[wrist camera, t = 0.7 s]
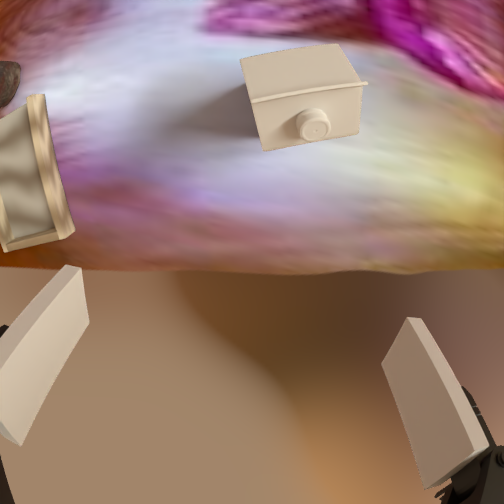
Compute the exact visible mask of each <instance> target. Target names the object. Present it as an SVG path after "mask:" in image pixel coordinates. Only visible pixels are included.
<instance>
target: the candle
mask: <svg viewBox="0 0 504 504" xmlns="http://www.w3.org/2000/svg"><path fill="white" fill-rule="evenodd" d="M20 70H21V68H20V65H19V64H18V63H16V62H11V61H0V107H2V106H5V105H7V104H8V103H9V101H10V100H11V99H12V97H13V96H14V94H15V92H16V89H17V86H18V84H19V82H20Z"/></svg>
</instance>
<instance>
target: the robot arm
mask: <svg viewBox="0 0 504 504" xmlns="http://www.w3.org/2000/svg"><path fill="white" fill-rule="evenodd" d="M88 324H89V317H88V312H87V305H86V300H85V293H84V286H83V278H82V270H81V268H79V267H74V266H70V265H65V266H64V267H63V268H62V269H61V270H60V271H59V272H58V273H57V274H56V275H55V276H54V277H53V278H52V279H51V280H50V281H49V283H48V284H47V285H46V286H45V287H44V288H43V289H42V290H41V291H40V292H39V293H38V294H37V296H36V297H35V298H34V299H33V300H32V301H31V302H30V303H29V304H28V306H27V307H26V308H25V309H24V310H23V311H22V312H21V314H20V315H19V316H18V317H17V318H16V319H15V321H14V322H13V323H12V324H11V325H10V327H9V326H6V325H3V326H1V327H0V433H1V434H2V435H3V436H4V437H5V438H6V439H8V440H10V441H12V442H13V443H15V444H17V445H19V446H22V444H23V442H24V439H25V437H26V435H27V433H28V431H29V429H30V427H31V425H32V423H33V421H34V419H35V417H36V415H37V413H38V411H39V409H40V407H41V405H42V403H43V401H44V400H45V398H46V396H47V394H48V392H49V390H50V388H51V387H52V384H53V383H54V381H55V379H56V378H57V376H58V374H59V372H60V371H61V369H62V367H63V365H64V364H65V362H66V360H67V358H68V357H69V355H70V353H71V352H72V350H73V348H74V347H75V345H76V343H77V342H78V340H79V338H80V337H81V335H82V334H83V332H84V330H85V329H86V327H87V326H88ZM382 367H383V370H384V372H385V374H386V377H387V380H388V382H389V385H390V388H391V390H392V393H393V396H394V399H395V401H396V404H397V407H398V410H399V412H400V415H401V418H402V421H403V424H404V427H405V429H406V432H407V436H408V439H409V442H410V445H411V448H412V451H413V454H414V457H415V460H416V464H417V467H418V470H419V474H420V477H421V480H422V483H423V487H424V490H426V489H429V488H432V487H436V486H439V485H441V484H442V483H444V482H445V481H447V480H448V479H449V478H451V480H452V483H451V484H449V485H448V486H446V487H445V488H443V489H442V490H440V491H439V492H437V494H436V495H435V498H437V497H439V496H440V495H442V494H443V493H445V494H444V496H442V497H441V498H440V500H442V502H441V504H504V446H501V445H500V446H496V444H495V442H494V440H493V438H492V436H491V433H490V431H489V429H488V427H487V425H486V423H485V421H484V419H483V417H482V415H480V411H479V409H478V408H477V407H476V403H475V401H474V399H473V397H472V396H471V394H470V393H469V392H468V391H467V390H466V389H465V388H464V387H463V386H460V384H459V382H458V380H457V379H456V377H455V375H454V373H453V371H452V370H451V368H450V366H449V364H448V363H447V361H446V359H445V358H444V356H443V354H442V352H441V350H440V349H439V347H438V346H437V344H436V342H435V340H434V339H433V337H432V335H431V334H430V332H429V331H428V329H427V328H426V326H425V324H424V323H423V321H422V320H421V318H410V317H407V318H406V320H405V322H404V324H403V326H402V328H401V330H400V332H399V333H398V335H397V337H396V339H395V341H394V343H393V345H392V346H391V348H390V350H389V352H388V353H387V355H386V357H385V358H384V360H383V362H382ZM0 504H15V502H14V500H13V497H12V494H11V491H10V488H9V485H8V482H7V478H6V475H5V471H4V468H3V464H2V460H1V456H0Z"/></svg>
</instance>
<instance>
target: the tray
mask: <svg viewBox="0 0 504 504" xmlns="http://www.w3.org/2000/svg"><path fill="white" fill-rule="evenodd" d="M26 100H27V103H26V104H24V105H23V106H21V107H19V108H18V109H16V110H14V111H13V112H11V113H9V114H8V115H6V116H5V117H3V118H1V119H0V242H1V245H2V248H3V251H4V253H5V252H9V251H13V250H17V249H21V248H25V247H29V246H34V245H38V244H42V243H47V242H51V241H56V240H60V239H65V238H67V237H68V236H69V235H70V234H72V233H73V232H74V231H76V230H75V226H74V223H73V220H72V217H71V214H70V210H69V207H68V203H67V200H66V196H65V193H64V189H63V185H62V181H61V177H60V173H59V169H58V165H57V161H56V156H55V152H54V147H53V142H52V137H51V131H50V126H49V120H48V114H47V107H46V100H45V94H32V95H30V96H29V97H27V98H26Z"/></svg>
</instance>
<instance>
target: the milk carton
mask: <svg viewBox="0 0 504 504" xmlns="http://www.w3.org/2000/svg"><path fill="white" fill-rule="evenodd" d="M240 63H241V67H242V71H243V75H244V79H245V83H246V86H247V90H248V94H249V98H250V102H251V106H252V110H253V114H254V118H255V121H256V125H257V129H258V133H259V137H260V141H261V145H262V149H263V151H271V150H276V149H281V148H286V147H291V146H296V145H301V144H306V143H311V142H317V141H322V140H328V139H334V138H340V137H345V136H351V135H356V134H358V133H359V124H360V113H361V101H362V87H363V86H364V85H367V84H368V82H361V81H360V79H359V77H358V76H357V74H356V72H355V70H354V69H353V67H352V65H351V64H350V62H349V61H348V59H347V57H346V56H345V54H344V53H343V51H342V50H341V48H340V46H339V45H338V44H326V45H317V46H309V47H301V48H295V49H288V50H282V51H276V52H271V53H266V54H261V55H256V56H251V57H247V58H243V59H240Z"/></svg>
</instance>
